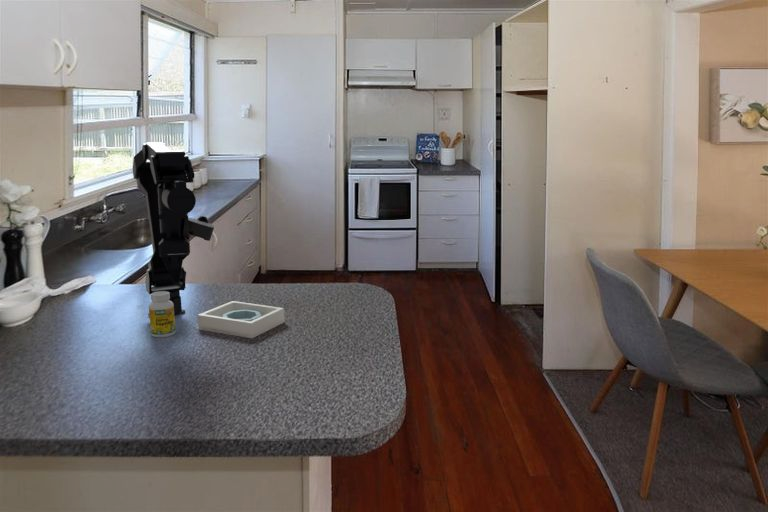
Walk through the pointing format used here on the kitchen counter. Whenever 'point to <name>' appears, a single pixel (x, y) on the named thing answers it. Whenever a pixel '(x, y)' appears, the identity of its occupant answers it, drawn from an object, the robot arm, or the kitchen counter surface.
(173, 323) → the supplement bottle
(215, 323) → the socket box
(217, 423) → the kitchen counter surface
